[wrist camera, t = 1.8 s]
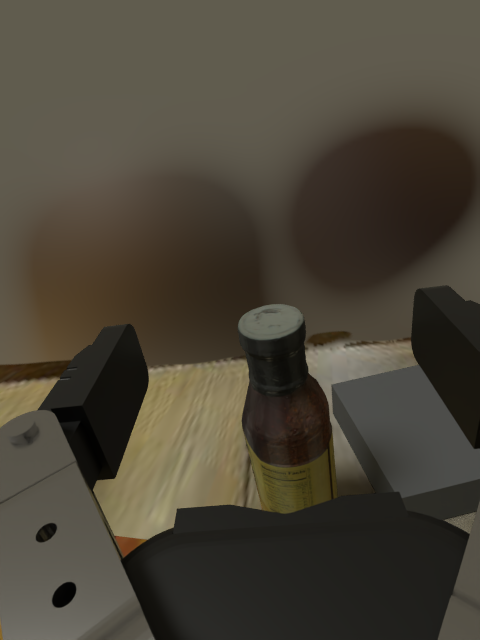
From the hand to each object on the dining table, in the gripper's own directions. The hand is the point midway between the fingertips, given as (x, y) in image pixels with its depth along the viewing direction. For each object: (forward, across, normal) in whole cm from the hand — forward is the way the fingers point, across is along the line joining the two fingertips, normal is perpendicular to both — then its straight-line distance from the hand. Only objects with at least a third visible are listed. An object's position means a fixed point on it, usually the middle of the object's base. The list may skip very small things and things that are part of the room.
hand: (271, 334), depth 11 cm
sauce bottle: (+11, 0, +25) cm, 28 cm away
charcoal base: (+18, -13, +25) cm, 33 cm away
